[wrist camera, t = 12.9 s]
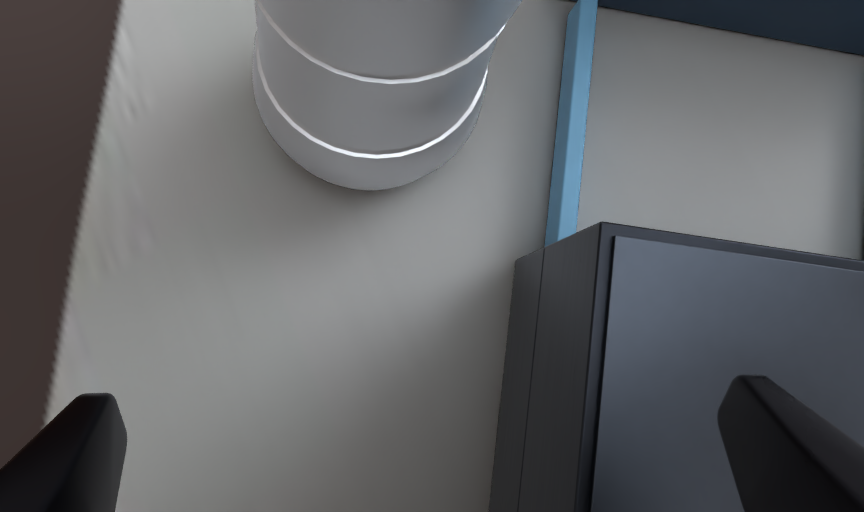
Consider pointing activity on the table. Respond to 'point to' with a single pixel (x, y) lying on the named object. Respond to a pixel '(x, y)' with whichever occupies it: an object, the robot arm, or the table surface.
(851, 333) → the black drawer housing
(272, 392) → the table surface
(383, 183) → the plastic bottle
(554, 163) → the pull-out drawer
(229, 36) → the table surface
